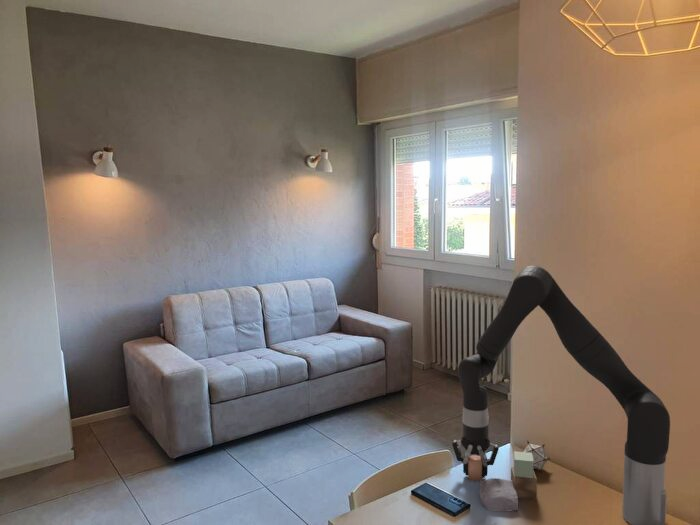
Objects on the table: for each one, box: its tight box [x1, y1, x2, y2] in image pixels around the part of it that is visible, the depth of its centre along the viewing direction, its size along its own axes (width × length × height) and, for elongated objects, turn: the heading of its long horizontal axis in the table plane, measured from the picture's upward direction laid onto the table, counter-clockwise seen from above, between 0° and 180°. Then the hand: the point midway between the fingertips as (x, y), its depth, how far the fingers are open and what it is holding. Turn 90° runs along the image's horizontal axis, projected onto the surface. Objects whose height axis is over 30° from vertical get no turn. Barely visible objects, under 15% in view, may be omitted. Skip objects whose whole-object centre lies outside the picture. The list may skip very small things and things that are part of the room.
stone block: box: [479, 477, 519, 512], centre depth 149 cm, size 12×5×10 cm
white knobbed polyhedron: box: [522, 440, 551, 473], centre depth 164 cm, size 9×8×10 cm
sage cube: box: [513, 450, 534, 478], centre depth 151 cm, size 5×5×5 cm
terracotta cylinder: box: [467, 454, 484, 482], centre depth 160 cm, size 4×4×6 cm
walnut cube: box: [510, 466, 538, 500], centre depth 152 cm, size 6×6×6 cm
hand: (475, 475), depth 161 cm, fingers closed on terracotta cylinder, 4 cm apart
